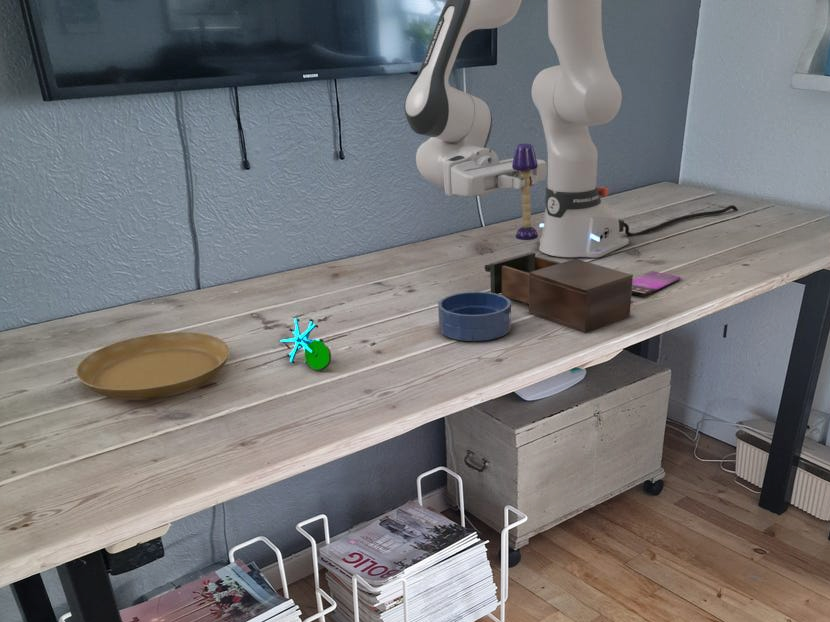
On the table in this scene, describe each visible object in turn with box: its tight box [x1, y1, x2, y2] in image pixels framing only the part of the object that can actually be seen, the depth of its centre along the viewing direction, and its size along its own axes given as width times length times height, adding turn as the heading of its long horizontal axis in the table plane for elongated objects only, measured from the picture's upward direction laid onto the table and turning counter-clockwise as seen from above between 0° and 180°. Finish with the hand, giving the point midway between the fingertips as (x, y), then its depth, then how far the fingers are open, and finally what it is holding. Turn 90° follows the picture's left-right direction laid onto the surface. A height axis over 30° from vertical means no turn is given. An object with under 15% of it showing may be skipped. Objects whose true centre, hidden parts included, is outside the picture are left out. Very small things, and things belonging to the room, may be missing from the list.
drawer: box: [484, 251, 561, 305], centre depth 175 cm, size 18×11×6 cm, turn 41°
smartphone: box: [631, 270, 681, 297], centre depth 182 cm, size 7×15×1 cm, turn 140°
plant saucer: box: [75, 331, 230, 401], centre depth 145 cm, size 24×24×3 cm
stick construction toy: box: [280, 317, 332, 371], centre depth 150 cm, size 12×7×8 cm
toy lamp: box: [512, 143, 539, 241], centre depth 162 cm, size 5×5×17 cm
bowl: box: [437, 291, 512, 342], centre depth 161 cm, size 13×13×5 cm
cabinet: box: [528, 258, 634, 334], centre depth 166 cm, size 15×13×8 cm
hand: (528, 182), depth 160 cm, fingers closed on toy lamp
